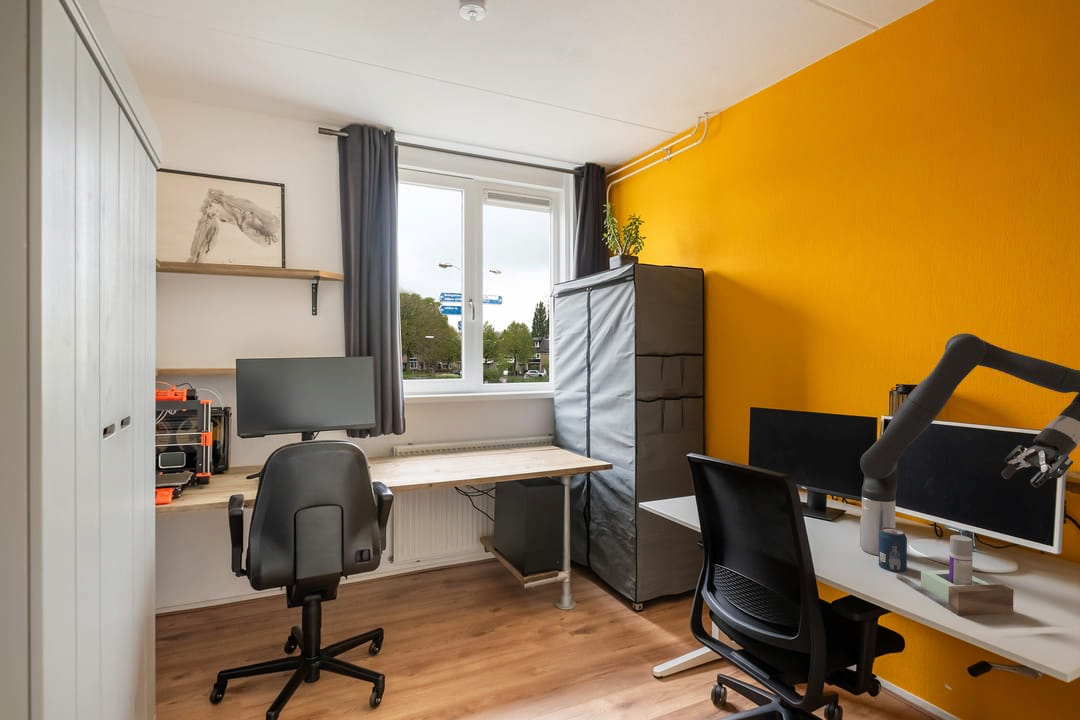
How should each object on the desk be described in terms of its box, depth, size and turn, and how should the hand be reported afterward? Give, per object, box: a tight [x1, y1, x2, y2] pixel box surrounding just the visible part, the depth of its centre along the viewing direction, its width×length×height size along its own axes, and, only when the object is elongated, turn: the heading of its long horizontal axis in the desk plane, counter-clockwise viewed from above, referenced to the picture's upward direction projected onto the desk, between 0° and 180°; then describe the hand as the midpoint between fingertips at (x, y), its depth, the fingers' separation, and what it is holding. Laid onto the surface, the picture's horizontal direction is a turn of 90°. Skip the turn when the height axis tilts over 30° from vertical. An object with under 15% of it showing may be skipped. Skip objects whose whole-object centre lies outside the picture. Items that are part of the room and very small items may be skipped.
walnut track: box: [895, 574, 1015, 617], centre depth 143 cm, size 23×14×7 cm, turn 3°
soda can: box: [878, 527, 908, 573], centre depth 161 cm, size 7×7×12 cm
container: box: [948, 534, 973, 585], centre depth 141 cm, size 5×5×15 cm
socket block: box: [920, 569, 991, 603], centre depth 142 cm, size 11×11×5 cm
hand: (1018, 481), depth 145 cm, fingers open, 8 cm apart
